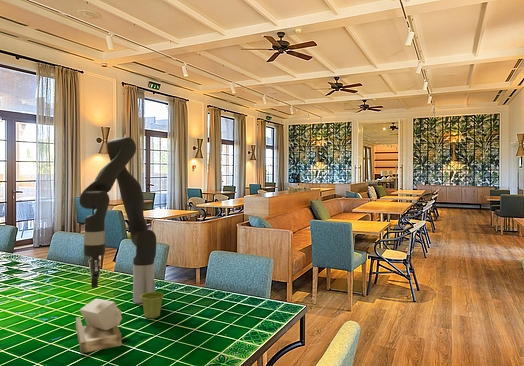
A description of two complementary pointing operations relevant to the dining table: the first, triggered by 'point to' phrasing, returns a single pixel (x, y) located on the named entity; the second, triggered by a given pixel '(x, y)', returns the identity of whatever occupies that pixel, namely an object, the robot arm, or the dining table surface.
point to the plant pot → (152, 304)
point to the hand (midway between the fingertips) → (94, 287)
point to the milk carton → (101, 314)
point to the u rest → (96, 337)
